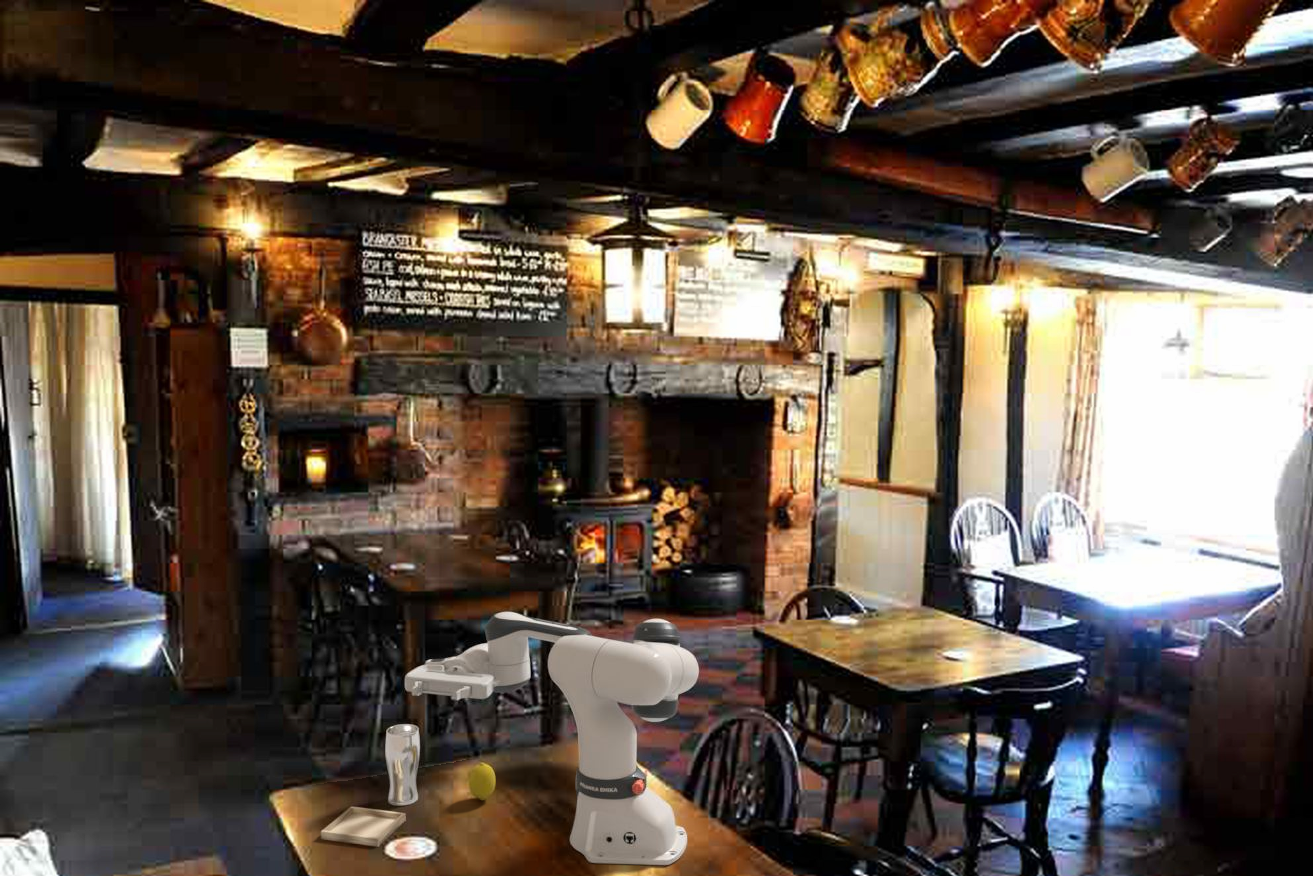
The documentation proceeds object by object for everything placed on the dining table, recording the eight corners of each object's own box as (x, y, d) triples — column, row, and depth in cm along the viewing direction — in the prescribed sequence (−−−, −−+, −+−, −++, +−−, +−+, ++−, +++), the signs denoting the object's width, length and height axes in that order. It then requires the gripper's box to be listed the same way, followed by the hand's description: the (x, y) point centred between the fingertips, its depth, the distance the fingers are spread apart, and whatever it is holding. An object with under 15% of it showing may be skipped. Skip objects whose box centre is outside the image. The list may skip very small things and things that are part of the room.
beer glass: (411, 808, 202) (410, 737, 200) (379, 805, 203) (379, 734, 202) (425, 794, 208) (425, 725, 207) (395, 790, 210) (394, 722, 209)
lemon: (463, 802, 205) (463, 765, 204) (479, 792, 210) (479, 755, 209) (484, 808, 202) (484, 770, 202) (501, 797, 207) (501, 760, 206)
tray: (405, 820, 196) (405, 813, 196) (377, 846, 186) (377, 839, 185) (351, 813, 199) (351, 806, 199) (320, 839, 188) (320, 831, 188)
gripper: (502, 693, 227) (478, 713, 214) (421, 685, 232) (392, 704, 219) (503, 666, 227) (478, 684, 214) (422, 658, 232) (392, 676, 218)
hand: (434, 694), depth 216 cm, fingers open, 8 cm apart
